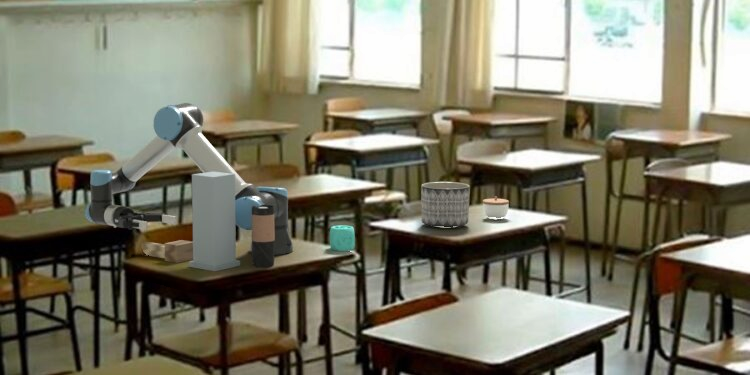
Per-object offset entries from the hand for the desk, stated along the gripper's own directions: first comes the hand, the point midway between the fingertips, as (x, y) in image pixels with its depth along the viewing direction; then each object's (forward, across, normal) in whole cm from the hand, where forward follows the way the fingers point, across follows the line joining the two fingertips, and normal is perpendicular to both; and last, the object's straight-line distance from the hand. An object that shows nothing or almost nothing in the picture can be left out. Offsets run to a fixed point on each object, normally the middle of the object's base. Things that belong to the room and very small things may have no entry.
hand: (161, 223), depth 425 cm
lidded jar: (+49, -139, -12) cm, 148 cm away
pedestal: (+25, 0, -12) cm, 28 cm away
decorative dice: (+40, -50, -12) cm, 65 cm away
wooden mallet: (+3, 0, -12) cm, 12 cm away
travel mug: (+37, -11, -12) cm, 41 cm away
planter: (+43, -112, -12) cm, 120 cm away
